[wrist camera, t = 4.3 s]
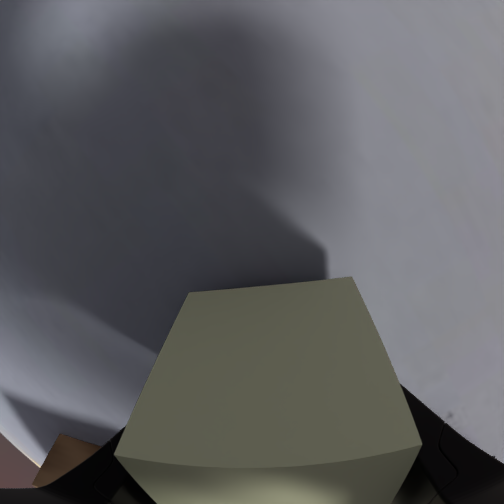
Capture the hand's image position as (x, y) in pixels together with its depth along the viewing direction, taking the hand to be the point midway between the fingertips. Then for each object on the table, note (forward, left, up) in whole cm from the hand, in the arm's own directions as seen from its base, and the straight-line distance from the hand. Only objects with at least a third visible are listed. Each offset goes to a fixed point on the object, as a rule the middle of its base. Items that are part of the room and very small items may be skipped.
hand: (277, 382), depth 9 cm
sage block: (0, 0, -2) cm, 2 cm away
